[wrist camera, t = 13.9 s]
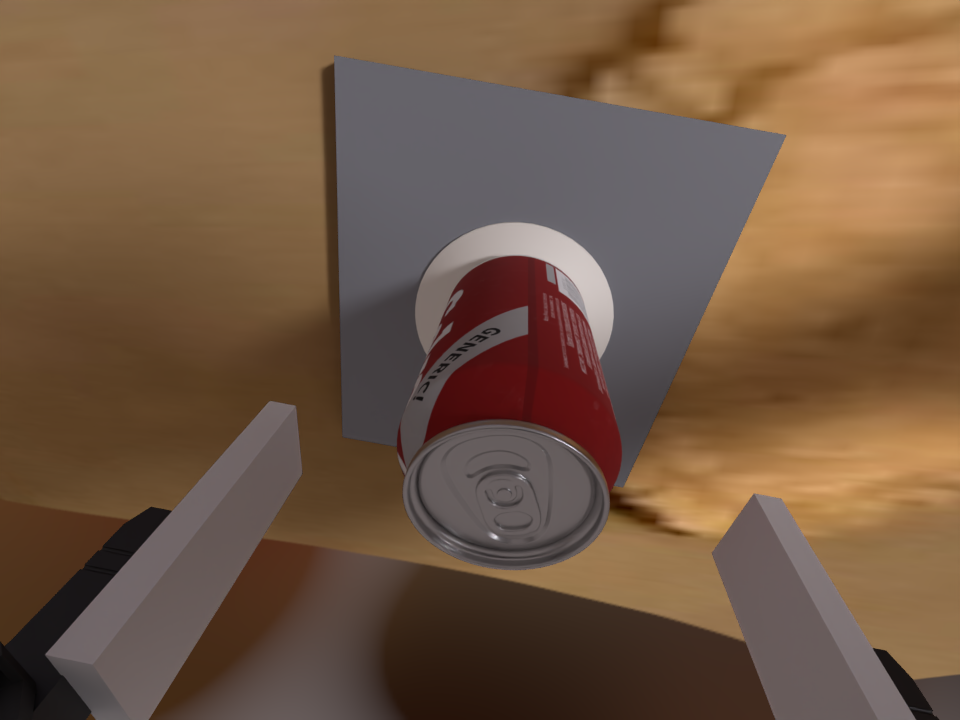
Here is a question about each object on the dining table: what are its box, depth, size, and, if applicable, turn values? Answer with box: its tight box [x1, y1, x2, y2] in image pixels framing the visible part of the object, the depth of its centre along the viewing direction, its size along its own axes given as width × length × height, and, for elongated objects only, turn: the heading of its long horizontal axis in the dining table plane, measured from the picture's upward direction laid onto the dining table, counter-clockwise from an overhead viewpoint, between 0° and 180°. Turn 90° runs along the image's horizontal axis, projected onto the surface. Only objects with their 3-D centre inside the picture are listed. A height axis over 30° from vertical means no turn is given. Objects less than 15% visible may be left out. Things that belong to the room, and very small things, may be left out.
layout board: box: [334, 56, 786, 487], centre depth 23 cm, size 20×18×1 cm
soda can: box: [397, 255, 622, 570], centre depth 17 cm, size 7×7×12 cm
